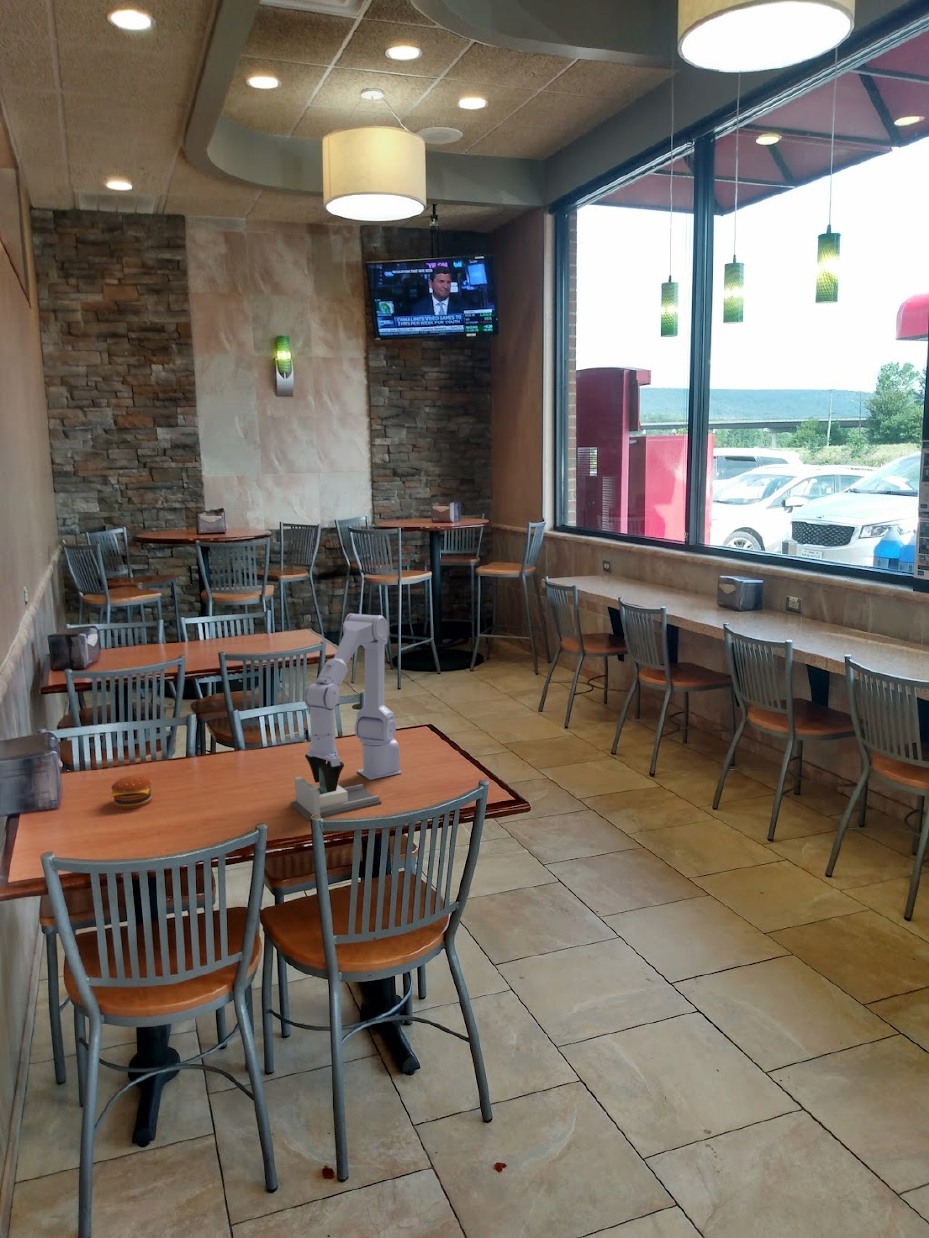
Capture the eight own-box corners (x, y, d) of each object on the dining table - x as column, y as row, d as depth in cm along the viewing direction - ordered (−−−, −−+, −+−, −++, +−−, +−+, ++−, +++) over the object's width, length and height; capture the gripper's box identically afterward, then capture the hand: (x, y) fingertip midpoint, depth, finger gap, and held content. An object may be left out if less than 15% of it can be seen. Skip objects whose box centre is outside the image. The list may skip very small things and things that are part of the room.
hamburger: (152, 807, 225) (149, 781, 224) (110, 812, 223) (108, 786, 222) (154, 793, 234) (152, 769, 233) (115, 798, 232) (112, 773, 231)
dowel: (328, 796, 226) (327, 765, 224) (333, 800, 223) (332, 768, 222) (318, 798, 224) (317, 767, 223) (322, 802, 222) (321, 771, 220)
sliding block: (334, 795, 229) (334, 781, 229) (348, 805, 223) (347, 791, 222) (304, 801, 225) (303, 788, 225) (317, 812, 219) (316, 798, 218)
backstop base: (360, 788, 235) (359, 764, 234) (381, 803, 225) (380, 777, 224) (290, 804, 226) (288, 778, 224) (308, 820, 215) (307, 793, 214)
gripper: (296, 727, 225) (298, 780, 227) (319, 743, 213) (321, 798, 215) (323, 723, 228) (325, 775, 231) (347, 738, 216) (349, 792, 219)
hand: (325, 786), depth 223 cm, fingers open, 7 cm apart
